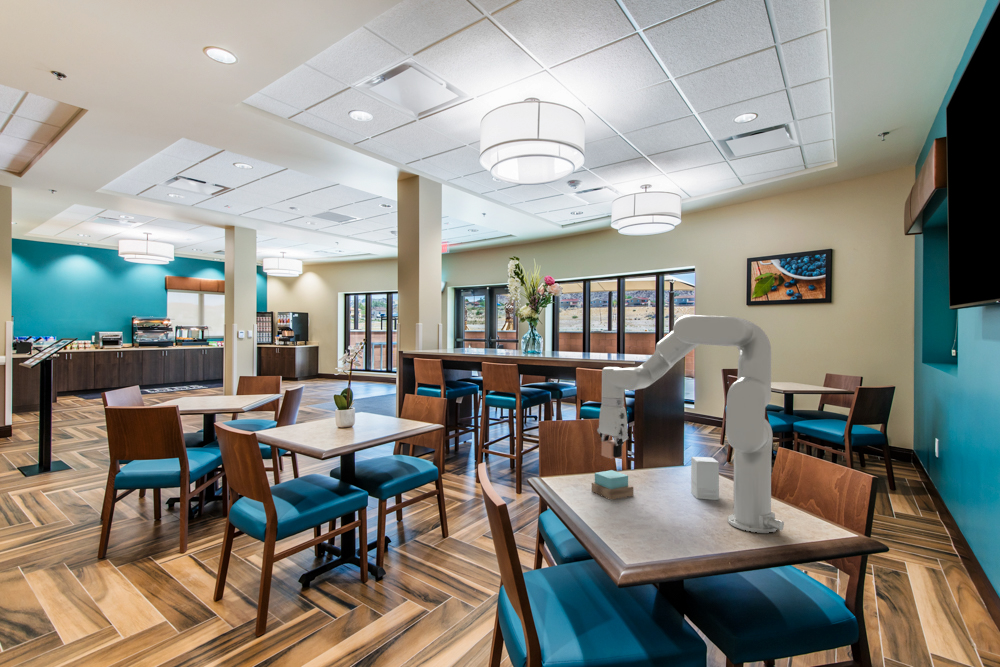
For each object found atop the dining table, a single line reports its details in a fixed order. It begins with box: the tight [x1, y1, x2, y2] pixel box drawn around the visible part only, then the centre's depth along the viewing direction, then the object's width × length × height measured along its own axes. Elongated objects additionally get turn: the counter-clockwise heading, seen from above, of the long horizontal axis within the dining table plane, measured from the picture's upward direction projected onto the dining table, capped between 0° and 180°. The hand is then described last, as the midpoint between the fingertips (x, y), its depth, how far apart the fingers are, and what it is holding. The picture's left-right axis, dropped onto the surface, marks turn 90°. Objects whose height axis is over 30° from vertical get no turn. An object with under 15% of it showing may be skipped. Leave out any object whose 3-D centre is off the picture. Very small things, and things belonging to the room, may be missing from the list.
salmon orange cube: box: [600, 439, 624, 460], centre depth 162 cm, size 5×5×5 cm
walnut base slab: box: [591, 481, 634, 500], centre depth 162 cm, size 10×10×4 cm
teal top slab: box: [594, 469, 629, 489], centre depth 162 cm, size 8×8×4 cm
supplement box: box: [690, 456, 720, 501], centre depth 160 cm, size 7×7×13 cm
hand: (611, 454), depth 162 cm, fingers closed on salmon orange cube, 5 cm apart
